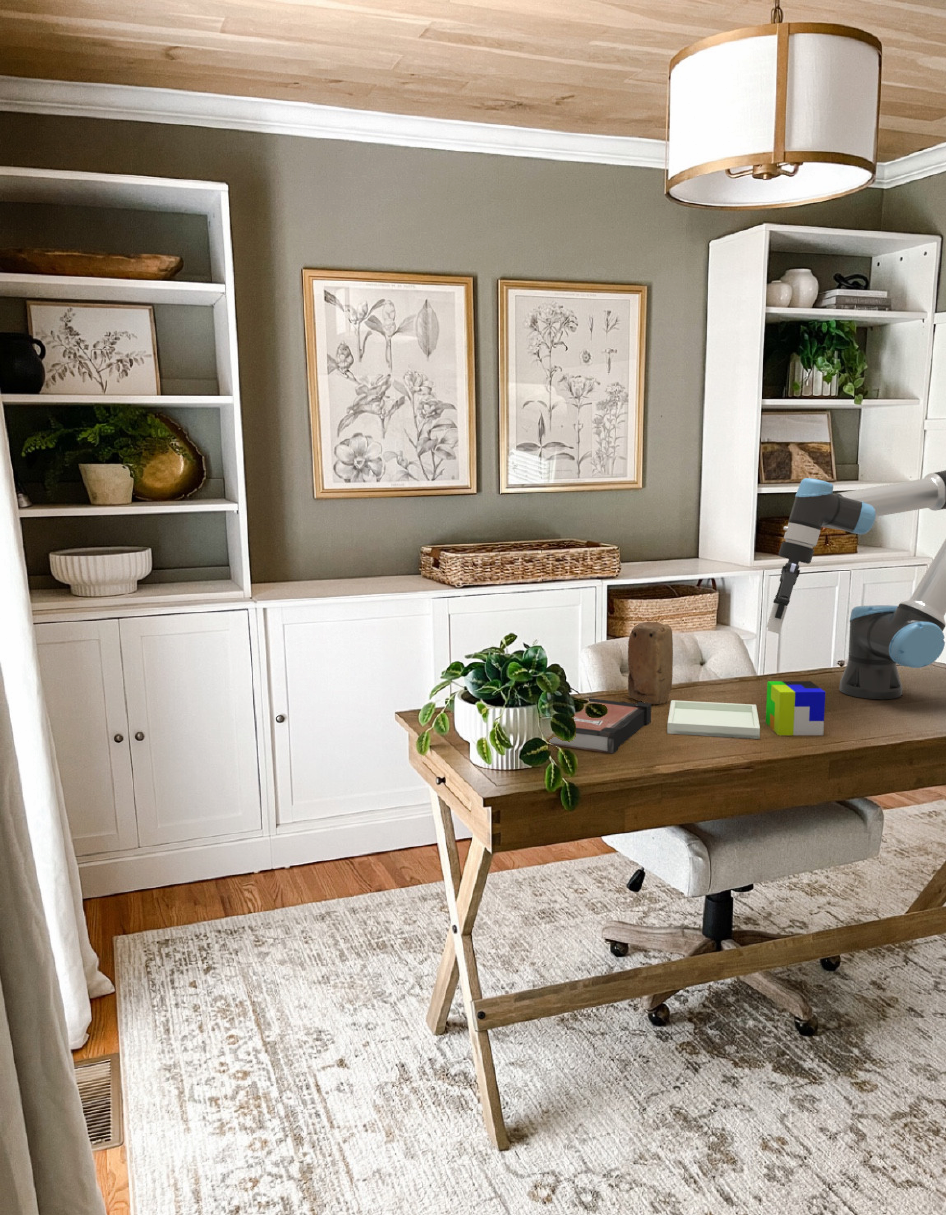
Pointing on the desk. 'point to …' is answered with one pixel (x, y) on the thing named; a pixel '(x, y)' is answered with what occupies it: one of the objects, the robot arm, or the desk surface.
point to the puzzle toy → (795, 707)
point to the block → (650, 662)
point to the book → (608, 726)
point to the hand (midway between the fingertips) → (772, 630)
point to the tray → (713, 719)
